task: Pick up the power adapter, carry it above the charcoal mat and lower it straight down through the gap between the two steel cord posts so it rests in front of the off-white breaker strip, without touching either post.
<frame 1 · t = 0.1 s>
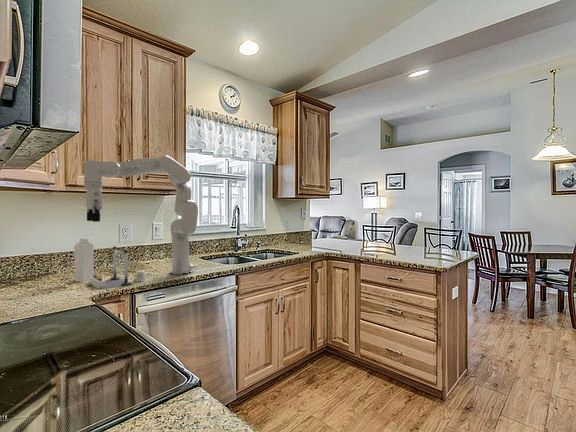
hand: (93, 221, 159), 31 cm above the worktop, tool pointing down, fingers open, 9 cm apart
cord post 1: (115, 279, 168), point 1 cm above the worktop, touching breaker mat
cord post 2: (126, 284, 155), point 1 cm above the worktop, touching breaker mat
milk: (84, 282, 165), on the worktop
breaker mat: (110, 285, 158), on the worktop
power adapter: (141, 281, 168), on the worktop
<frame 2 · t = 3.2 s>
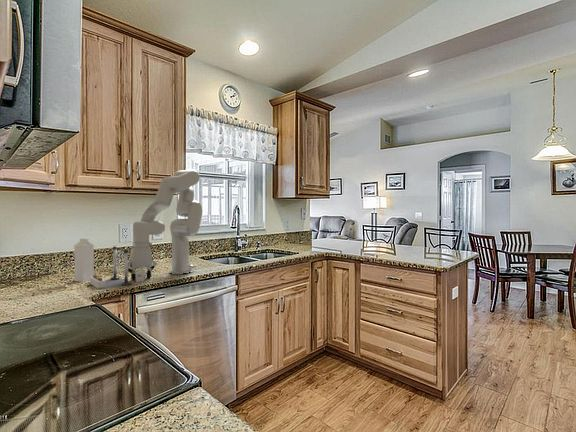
hand: (141, 279, 168), 1 cm above the worktop, tool pointing down, fingers closed on power adapter, 6 cm apart
power adapter: (141, 281, 168), on the worktop, touching gripper
everything else where it was.
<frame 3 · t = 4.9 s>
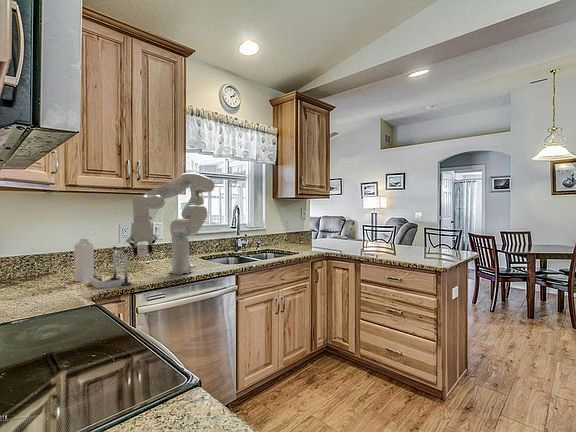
hand: (143, 253, 169), 14 cm above the worktop, tool pointing down, fingers closed on power adapter, 6 cm apart
power adapter: (142, 255, 169), point 13 cm above the worktop, touching gripper
everything else where it was.
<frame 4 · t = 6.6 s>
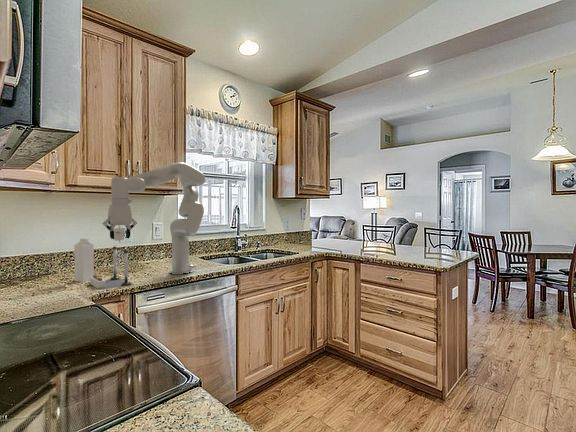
hand: (120, 238, 161), 23 cm above the worktop, tool pointing down, fingers closed on power adapter, 6 cm apart
power adapter: (120, 240, 161), point 22 cm above the worktop, touching gripper
everything else where it was.
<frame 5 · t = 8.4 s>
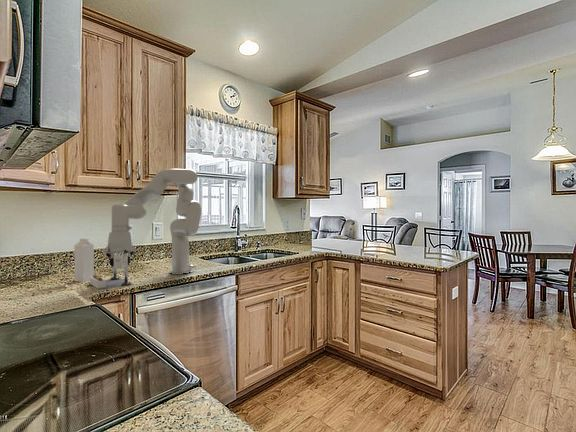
hand: (119, 265, 161), 9 cm above the worktop, tool pointing down, fingers closed on power adapter, 6 cm apart
power adapter: (119, 267, 161), point 8 cm above the worktop, touching gripper
everything else where it was.
when the fingers open (3 cm above the worktop, at t = 10.0 s): power adapter drops 1 cm, resting on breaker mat.
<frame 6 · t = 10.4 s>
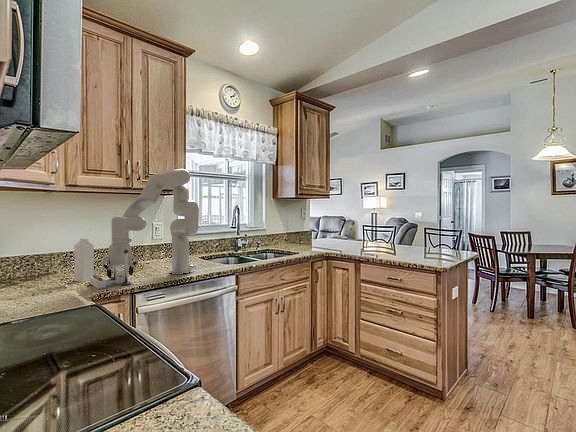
hand: (120, 276, 161), 4 cm above the worktop, tool pointing down, fingers open, 9 cm apart
power adapter: (120, 282, 161), point 1 cm above the worktop, touching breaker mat
everything else where it was.
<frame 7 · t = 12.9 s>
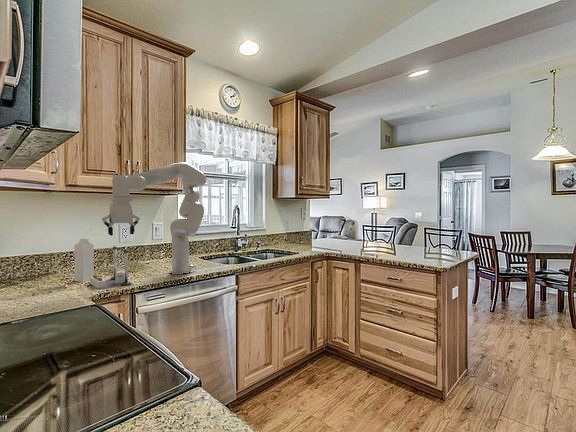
hand: (121, 234, 162), 24 cm above the worktop, tool pointing down, fingers open, 9 cm apart
nothing on the worktop moved.
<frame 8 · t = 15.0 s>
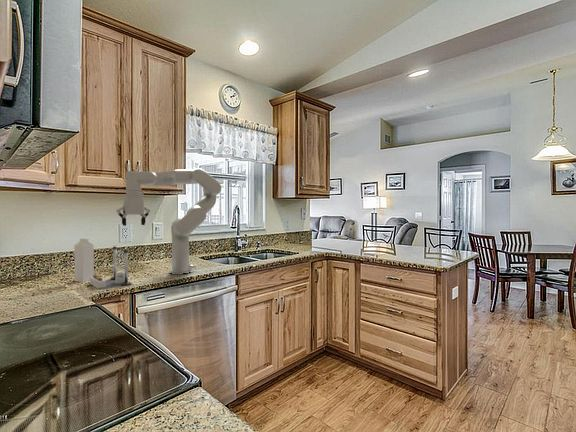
hand: (133, 225, 178), 28 cm above the worktop, tool pointing down, fingers open, 9 cm apart
nothing on the worktop moved.
at the end: power adapter 0.2 cm from the target spot, point 0.8 cm above the worktop; cord post 1 moved 0.0 cm from its start; cord post 2 moved 0.0 cm from its start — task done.
